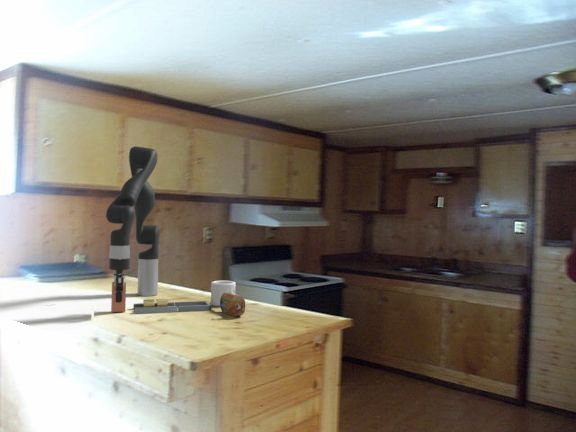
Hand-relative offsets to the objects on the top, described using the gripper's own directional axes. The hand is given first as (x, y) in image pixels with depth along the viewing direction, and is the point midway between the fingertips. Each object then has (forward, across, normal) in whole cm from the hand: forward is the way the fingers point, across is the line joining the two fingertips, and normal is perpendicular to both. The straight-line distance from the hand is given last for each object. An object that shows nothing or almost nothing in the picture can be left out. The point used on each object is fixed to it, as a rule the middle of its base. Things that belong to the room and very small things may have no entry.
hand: (118, 301), depth 189 cm
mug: (+5, -12, +45) cm, 47 cm away
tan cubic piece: (+4, 0, +11) cm, 12 cm away
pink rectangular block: (+4, 0, 0) cm, 4 cm away
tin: (+5, +10, +43) cm, 44 cm away
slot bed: (+5, 0, +14) cm, 15 cm away
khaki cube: (+4, 0, +16) cm, 17 cm away
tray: (+5, 0, +29) cm, 29 cm away
